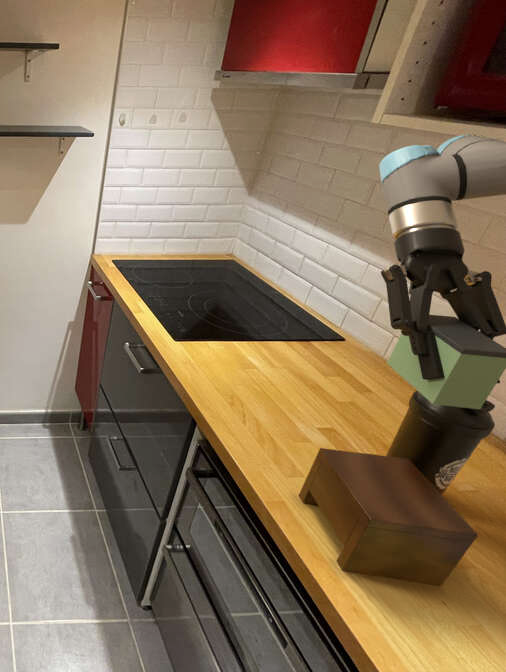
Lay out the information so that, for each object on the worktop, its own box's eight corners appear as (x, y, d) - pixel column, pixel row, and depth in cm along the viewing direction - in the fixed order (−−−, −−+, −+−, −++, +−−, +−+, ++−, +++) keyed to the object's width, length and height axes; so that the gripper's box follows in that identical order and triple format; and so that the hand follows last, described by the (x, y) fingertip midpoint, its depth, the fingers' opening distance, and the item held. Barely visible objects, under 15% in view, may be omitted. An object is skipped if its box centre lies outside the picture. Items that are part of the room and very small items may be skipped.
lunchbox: (427, 367, 73) (455, 316, 69) (481, 409, 64) (516, 354, 60) (385, 363, 73) (410, 312, 69) (432, 404, 64) (463, 349, 60)
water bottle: (422, 521, 79) (485, 421, 70) (358, 476, 88) (407, 382, 78) (453, 502, 83) (518, 405, 73) (389, 461, 91) (439, 370, 82)
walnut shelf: (381, 506, 82) (408, 458, 77) (441, 586, 69) (478, 534, 64) (298, 495, 84) (319, 447, 79) (341, 570, 71) (370, 519, 66)
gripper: (471, 249, 74) (511, 392, 66) (344, 241, 76) (367, 376, 69) (518, 229, 67) (568, 386, 59) (376, 221, 69) (406, 369, 62)
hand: (460, 380), depth 64 cm, fingers closed on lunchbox, 6 cm apart
